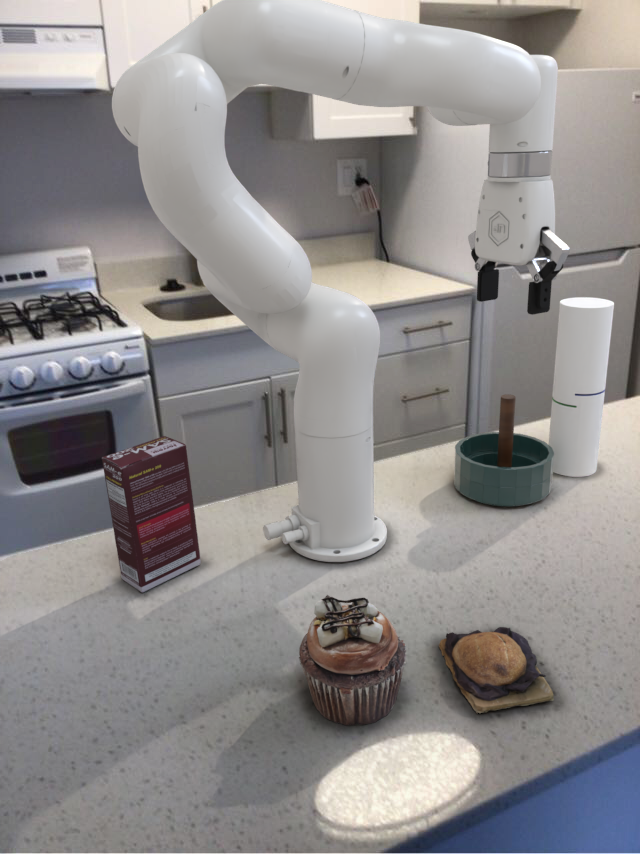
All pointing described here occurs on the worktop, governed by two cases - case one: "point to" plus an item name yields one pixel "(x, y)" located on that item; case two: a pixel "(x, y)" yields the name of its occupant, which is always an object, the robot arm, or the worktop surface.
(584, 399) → the cylindrical container
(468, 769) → the worktop surface
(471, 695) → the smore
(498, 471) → the bowl
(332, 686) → the cupcake
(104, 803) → the worktop surface
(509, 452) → the paper towel holder
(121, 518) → the supplement box
